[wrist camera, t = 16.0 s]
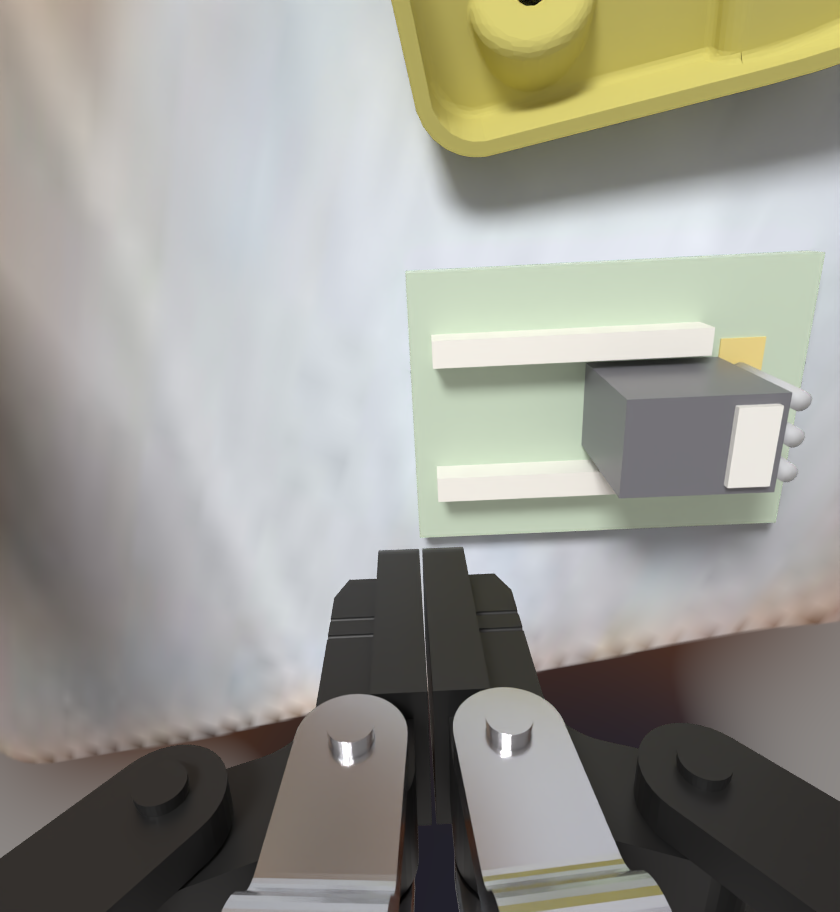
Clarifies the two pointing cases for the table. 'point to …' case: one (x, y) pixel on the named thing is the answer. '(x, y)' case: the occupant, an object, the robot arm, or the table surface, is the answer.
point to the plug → (683, 427)
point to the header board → (563, 380)
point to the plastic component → (595, 61)
